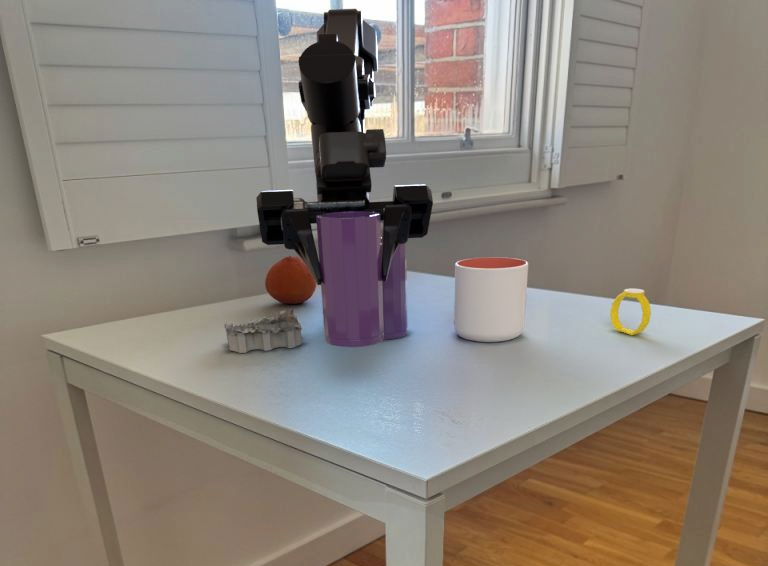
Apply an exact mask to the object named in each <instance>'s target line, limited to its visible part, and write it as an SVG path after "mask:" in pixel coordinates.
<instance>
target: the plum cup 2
mask: <svg viewBox="0 0 768 566" xmlns="http://www.w3.org/2000/svg"><path fill="white" fill-rule="evenodd" d="M381 247H382V237H381ZM407 269H408V268H407V242H406V243H404V244H399V245H398V247H397V249H396V251H395V253H394V255H393V258H392V261H391V265H390V269H389V273H388V277H387V281H383V280H382V289H383V322H384V339H383V340H385V341H386V340H395V339H400V338H403V337H405V336H407V335H408V275H407V273H408V272H407V271H408V270H407ZM383 340H382V341H383Z"/></svg>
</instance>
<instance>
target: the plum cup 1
mask: <svg viewBox="0 0 768 566" xmlns="http://www.w3.org/2000/svg"><path fill="white" fill-rule="evenodd" d="M316 221H317V224H316V233H317V249H318V250H317V251H318V259H319V263H320V270H321V285H320V291H321V303H322V304H321V305H322V306H321V307H322V319H323V320H322V321H323V331H324V332H323V333H324V341H325V342H326V344H328V345H331V346H334V347H339V348H340V347H341V348H362V347H368V346H373V345H376V344H379V343H381V342H383V339H384V322H383V289H382V256H381V238H382V228H381V227H382V226H381V224H382V223H381V222H380V213H378V212H371V211H344V212H331V213H323V214H319V215H317V216H316Z"/></svg>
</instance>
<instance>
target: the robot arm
mask: <svg viewBox="0 0 768 566" xmlns="http://www.w3.org/2000/svg"><path fill="white" fill-rule="evenodd" d="M378 52H379V51H378V38H377V30H376V29H375V28H374V27H373V26H371V25H370V24H369V23H368V22H367V21H365V20H364V19H363V13H362V10H358V9H357V8H338V9H337V8H336V9H333V8H332V9H328V11H325V12H323V24H322V25H321V26H320V28H319V29H318V30H317V31H316V42H314V43H312V44H310V45H309V46H307V47H306V48H305V49H304V50H303V51H302V53H301V55H300V56H299V57H298V68H299V74H300V80H299V81H298V90H299V96H300V103H301V104H302V106H303V108H304V110H305V112H306V115H307V118H308V121H309V123H310V134H311V135H310V136H311V146H312V156H313V167H314V177H315V187H316V198H317V201H306V200H305V199H304V198H301V197H294V189H280V190H277V189H276V190H261V191H260V192H259V194H258V195H257V196H256V212H257V218H258V225H259V231H260V237H261V242H262V243H263V244H265V245H266V246H277V245H280V246H281V245H284V248H285V249H286V250H293V251H294V252H295V253H296V254H297V255H298V257H299V258H300V259H302V260H303V261H304V262H305V264H306V266H307V267H308V269H309V271H310V272H311V274H312V276H313V278H314V279H315V281H316V285H318V286H321V270H320V263H319V254H318V250H317V247H316V246H317V245H316V243H315V238H314V234H313V228H312V225H315V224H316V225H317V221H316V216H317V215H319V214H323V213H331V212H344V211H371V212H378V213H380V222H381V224H382V231H381V238H382V247H381V256H382V280H383V281H387V277H388V273H389V269H390V265H391V261H392V258H393V255H394V253H395V251H396V249H397V247H398V245H399V244H404V243H406V244H407V242H408V240H409V239H421V238H422V239H423V238H424V237H425V236H427V235H428V233H429V227H430V222H431V216H432V211H433V205H434V201H433V199H434V198H433V193H432V189H431V188H430V187H429V186H428V185H427V184H426V183H425V184H423V183H422V184H401V185H400V184H399V185H397V184H396V185H393V190H392V191H393V192H392V200H388V201H386V200H385V201H370V194H369V193H372V175H371V169H373V168H375V169H377V168H384V167H385V164H386V160H387V146H386V143H387V142H386V136H385V130H384V128H373V129H371V128H369V129H366V131H365V119H366V110H371V109H372V107H373V101H374V100H375V99H376V84H375V82H374V79H375V77H374V73H378V72H379V61H378V60H379V56H378V54H379V53H378Z"/></svg>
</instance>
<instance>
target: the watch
mask: <svg viewBox="0 0 768 566" xmlns="http://www.w3.org/2000/svg"><path fill="white" fill-rule="evenodd" d="M645 293H646V292H645V290H644V289H641V288H635V287H634V288H633V287H632V288H625V289H624V290H623V292H622V293H620V294H618V295H617V296H616V297H615V299H614V300H613V301H612V304H611V308H610V312H609V314H610V321H611V324H612V326H613V328H614V330H615V331H618V332H620V333H624V334H627V335H630V336H636V335H638V334H640V333H642V332H643V331H645V330H646V328H647V327H648V326H649V324H650V321H651V314H652V310H651V305H650V302H649V299H648V298H647V297H646V296H645ZM626 297H627V298H633V299H636V300H637V301H638V303H640V306H641V311H642V317H641V322H640V323H639V326H638V327H637V329H635V330H633V329H630V328H628V327H625V326H624V325H623V324H622V322H621V321H620V315H619V310H620V305H621V303H622V302H623V300H624V299H625V298H626Z"/></svg>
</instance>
